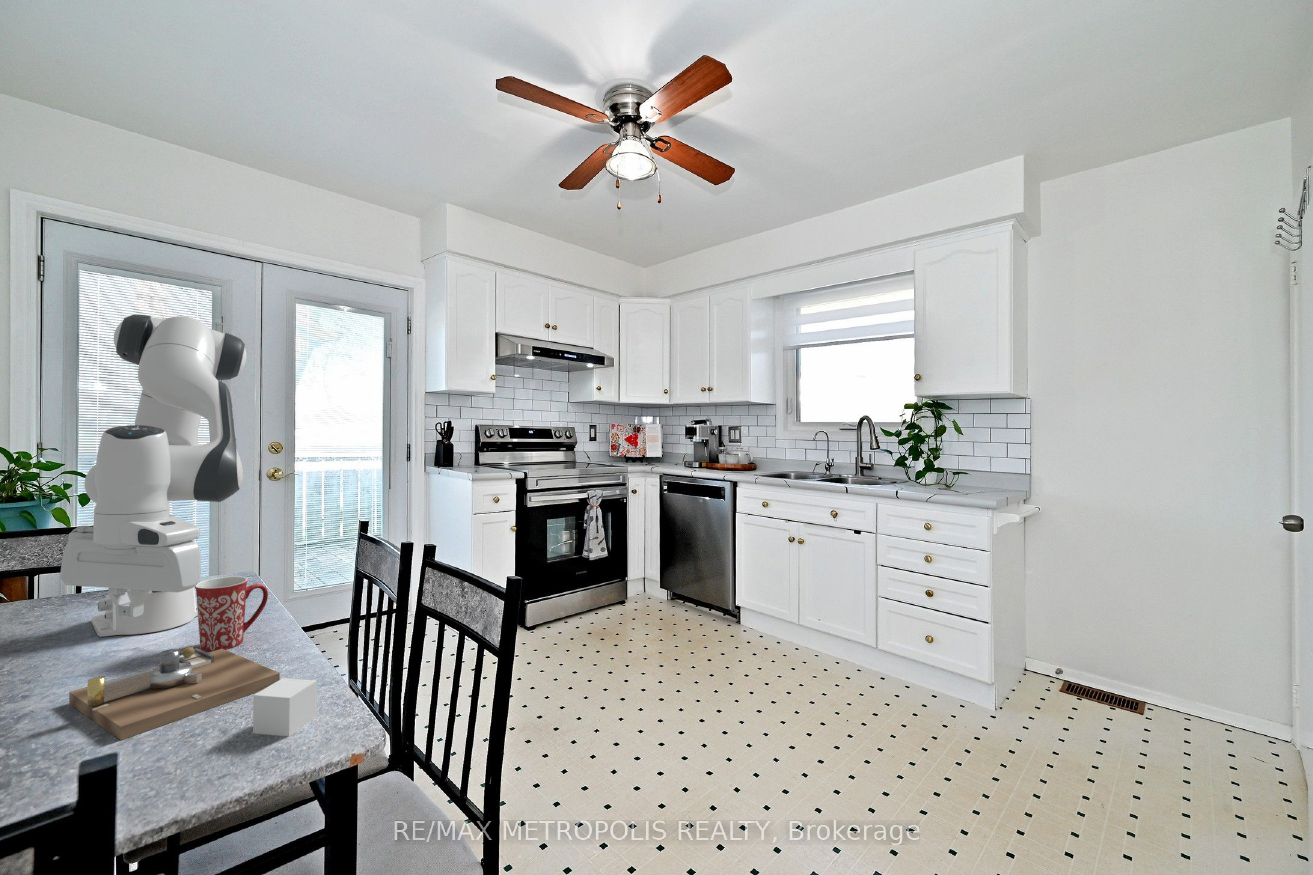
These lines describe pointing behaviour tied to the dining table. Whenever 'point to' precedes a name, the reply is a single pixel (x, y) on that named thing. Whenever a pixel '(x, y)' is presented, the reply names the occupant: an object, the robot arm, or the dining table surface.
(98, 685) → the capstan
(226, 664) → the stand
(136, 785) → the dining table surface
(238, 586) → the mug
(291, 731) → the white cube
